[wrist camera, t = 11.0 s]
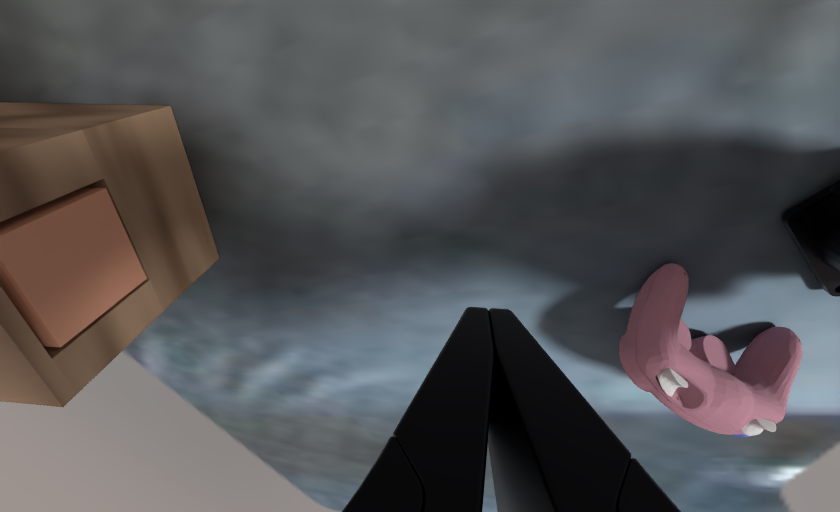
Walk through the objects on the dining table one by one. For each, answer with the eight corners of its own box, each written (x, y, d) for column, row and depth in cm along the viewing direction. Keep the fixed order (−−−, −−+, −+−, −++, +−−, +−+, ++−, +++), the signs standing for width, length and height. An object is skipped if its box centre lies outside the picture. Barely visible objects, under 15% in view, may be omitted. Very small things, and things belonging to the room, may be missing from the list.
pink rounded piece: (606, 282, 24) (601, 392, 20) (673, 251, 20) (683, 379, 16) (722, 346, 25) (738, 458, 22) (804, 328, 22) (841, 460, 18)
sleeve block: (170, 105, 19) (-108, 181, 10) (219, 257, 24) (63, 407, 14) (-9, 102, 20) (-423, 168, 11) (72, 249, 25) (-164, 386, 15)
